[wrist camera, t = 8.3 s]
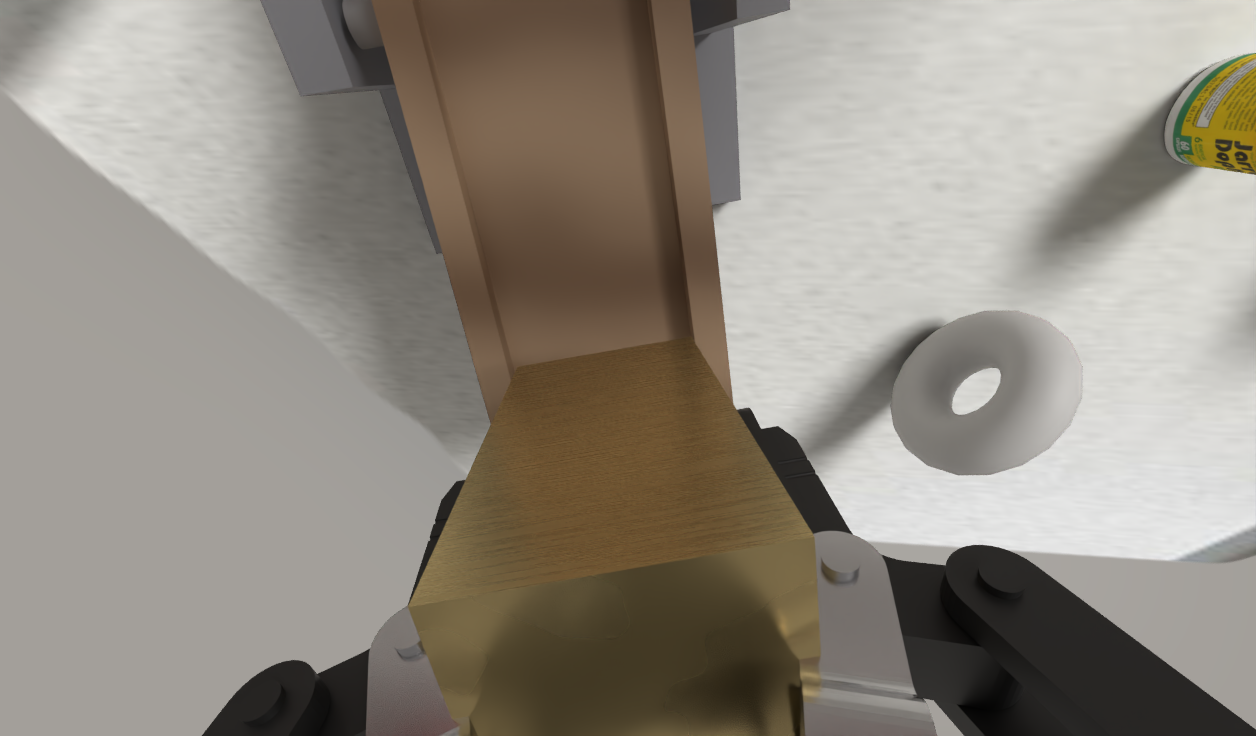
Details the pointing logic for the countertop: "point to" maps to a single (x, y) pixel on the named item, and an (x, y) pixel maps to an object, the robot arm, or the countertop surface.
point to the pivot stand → (334, 63)
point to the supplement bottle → (1217, 118)
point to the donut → (1013, 418)
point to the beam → (559, 172)
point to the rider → (621, 561)
